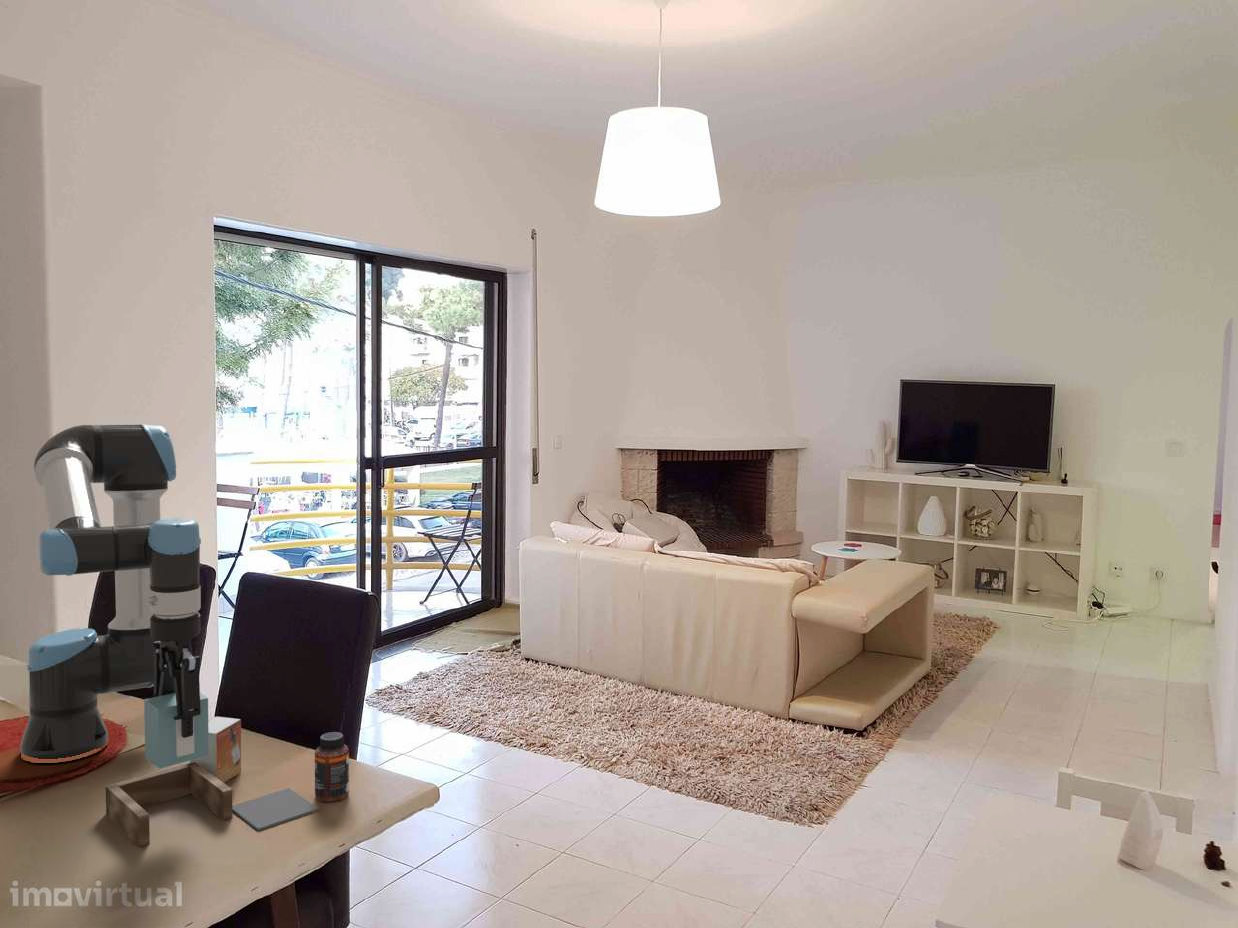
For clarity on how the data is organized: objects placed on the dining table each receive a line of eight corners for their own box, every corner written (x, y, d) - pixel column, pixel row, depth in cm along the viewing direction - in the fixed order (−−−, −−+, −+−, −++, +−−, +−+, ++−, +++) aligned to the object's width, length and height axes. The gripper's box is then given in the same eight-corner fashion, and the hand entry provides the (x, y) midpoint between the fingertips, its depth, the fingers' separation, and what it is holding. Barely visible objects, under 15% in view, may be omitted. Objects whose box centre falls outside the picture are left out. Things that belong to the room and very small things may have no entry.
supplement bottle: (356, 793, 171) (356, 733, 170) (333, 806, 166) (333, 744, 165) (330, 786, 174) (330, 727, 172) (307, 798, 168) (307, 738, 167)
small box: (216, 789, 171) (215, 733, 170) (189, 785, 172) (188, 730, 171) (242, 771, 179) (242, 718, 178) (216, 768, 180) (215, 715, 179)
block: (145, 757, 156) (144, 699, 155) (193, 744, 162) (193, 688, 161) (159, 768, 152) (158, 709, 151) (208, 755, 158) (208, 697, 157)
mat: (229, 808, 163) (229, 806, 163) (288, 789, 171) (288, 787, 171) (258, 830, 156) (258, 828, 156) (318, 810, 164) (318, 807, 164)
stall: (106, 813, 160) (105, 785, 160) (195, 788, 171) (194, 761, 171) (139, 846, 150) (139, 816, 149) (232, 817, 160) (232, 789, 160)
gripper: (130, 605, 158) (132, 737, 160) (174, 629, 145) (176, 772, 147) (176, 598, 164) (177, 726, 166) (223, 621, 151) (223, 759, 153)
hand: (176, 747), depth 157 cm, fingers closed on block, 6 cm apart
